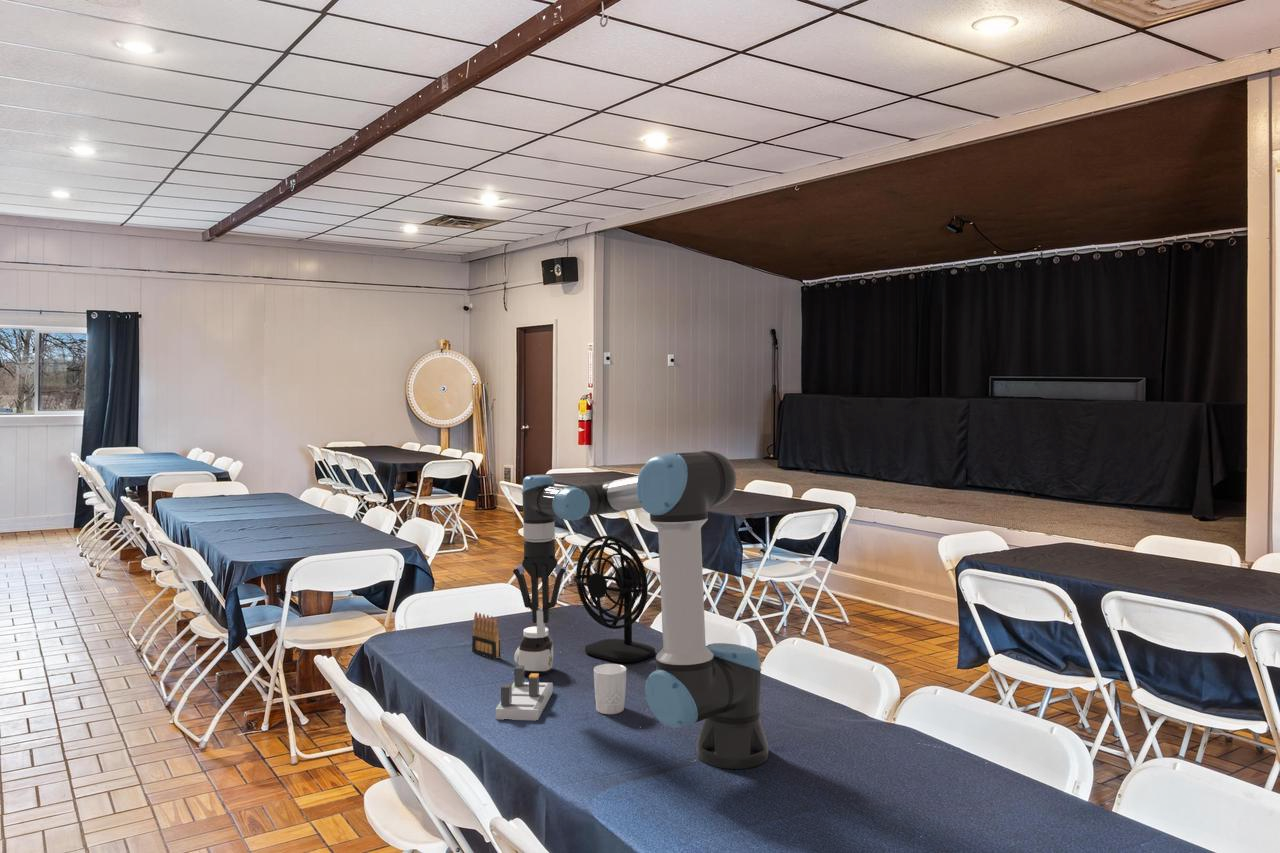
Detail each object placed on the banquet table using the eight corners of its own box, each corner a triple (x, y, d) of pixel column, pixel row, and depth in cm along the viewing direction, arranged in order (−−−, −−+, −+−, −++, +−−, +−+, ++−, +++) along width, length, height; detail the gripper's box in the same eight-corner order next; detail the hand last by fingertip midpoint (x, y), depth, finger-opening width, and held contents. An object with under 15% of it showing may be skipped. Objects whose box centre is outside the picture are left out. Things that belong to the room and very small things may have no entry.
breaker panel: (537, 720, 210) (537, 709, 210) (495, 719, 211) (495, 708, 211) (552, 692, 229) (552, 682, 229) (514, 691, 230) (513, 681, 230)
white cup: (622, 716, 213) (622, 675, 212) (590, 714, 214) (589, 672, 214) (629, 705, 221) (629, 664, 220) (598, 702, 222) (598, 662, 222)
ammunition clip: (500, 658, 258) (500, 616, 257) (495, 659, 257) (495, 618, 256) (476, 651, 265) (476, 610, 264) (471, 652, 264) (471, 611, 263)
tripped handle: (537, 696, 219) (537, 676, 218) (529, 695, 219) (528, 676, 219) (539, 692, 221) (539, 673, 221) (531, 692, 221) (530, 673, 221)
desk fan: (562, 652, 264) (561, 533, 262) (603, 639, 277) (602, 526, 275) (632, 671, 246) (632, 544, 245) (672, 656, 260) (672, 535, 258)
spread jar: (540, 679, 240) (540, 635, 239) (503, 674, 244) (502, 632, 243) (560, 665, 251) (559, 624, 251) (523, 661, 255) (523, 620, 255)
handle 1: (509, 705, 212) (509, 687, 212) (501, 705, 212) (500, 687, 212) (511, 702, 215) (511, 684, 214) (503, 702, 215) (503, 683, 215)
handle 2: (522, 685, 226) (522, 668, 226) (514, 685, 226) (514, 668, 226) (524, 682, 229) (524, 665, 228) (516, 682, 229) (516, 665, 228)
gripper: (568, 536, 221) (570, 632, 222) (515, 537, 222) (517, 632, 223) (563, 541, 214) (565, 640, 214) (509, 542, 214) (511, 640, 215)
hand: (541, 636), depth 219 cm, fingers closed
